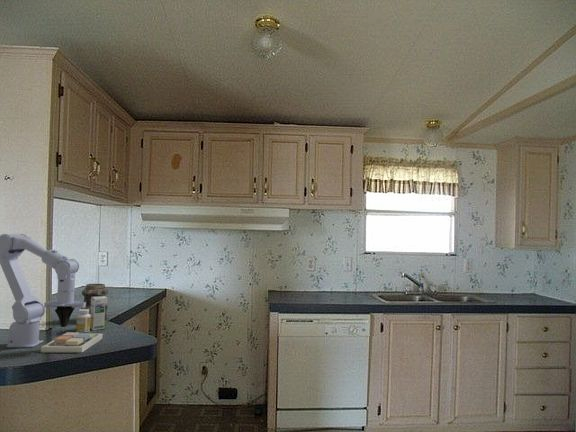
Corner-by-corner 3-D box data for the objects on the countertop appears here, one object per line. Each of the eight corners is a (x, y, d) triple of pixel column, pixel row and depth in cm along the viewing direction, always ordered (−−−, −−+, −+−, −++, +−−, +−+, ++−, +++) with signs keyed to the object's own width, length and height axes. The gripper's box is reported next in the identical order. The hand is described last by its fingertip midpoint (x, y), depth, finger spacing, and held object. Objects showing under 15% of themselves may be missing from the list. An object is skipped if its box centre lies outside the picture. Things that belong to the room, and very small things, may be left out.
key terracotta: (54, 343, 144) (54, 339, 144) (60, 340, 148) (60, 336, 148) (66, 344, 144) (66, 339, 144) (71, 340, 148) (72, 336, 148)
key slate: (72, 341, 147) (72, 337, 147) (77, 338, 151) (78, 334, 151) (84, 342, 147) (84, 337, 147) (89, 338, 152) (89, 334, 152)
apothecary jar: (107, 317, 197) (109, 282, 198) (105, 322, 186) (107, 285, 187) (81, 318, 193) (83, 282, 194) (77, 323, 182) (79, 286, 183)
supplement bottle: (86, 329, 172) (87, 307, 173) (91, 331, 169) (93, 309, 169) (73, 331, 168) (75, 309, 168) (79, 334, 165) (80, 311, 165)
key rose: (61, 339, 149) (61, 335, 149) (67, 336, 154) (67, 332, 154) (73, 339, 150) (73, 335, 150) (78, 336, 154) (78, 332, 154)
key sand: (65, 346, 141) (65, 341, 141) (71, 342, 146) (71, 338, 146) (77, 346, 142) (78, 341, 142) (83, 342, 146) (83, 338, 146)
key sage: (79, 341, 152) (79, 336, 152) (84, 338, 157) (84, 333, 157) (90, 341, 153) (90, 336, 153) (95, 338, 157) (95, 333, 157)
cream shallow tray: (40, 352, 139) (40, 346, 139) (66, 338, 158) (66, 333, 158) (81, 352, 140) (82, 347, 140) (102, 338, 159) (102, 333, 159)
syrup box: (92, 330, 171) (94, 298, 171) (89, 327, 175) (91, 296, 176) (106, 328, 174) (108, 297, 175) (102, 326, 179) (104, 295, 179)
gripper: (40, 292, 142) (38, 328, 142) (80, 292, 144) (78, 329, 143) (50, 289, 149) (48, 324, 149) (88, 290, 151) (87, 324, 150)
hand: (64, 326), depth 146 cm, fingers closed
